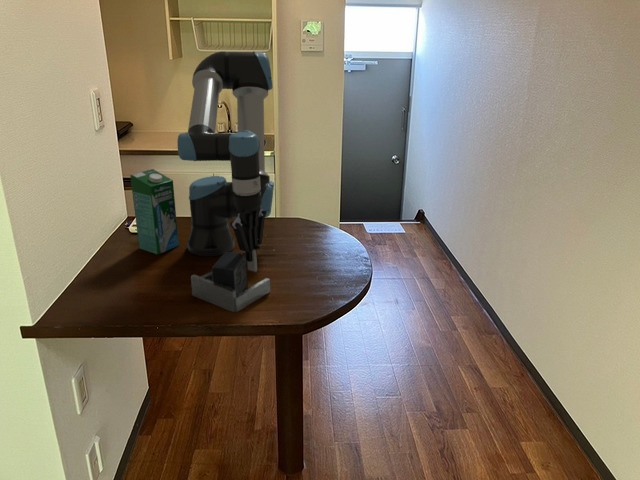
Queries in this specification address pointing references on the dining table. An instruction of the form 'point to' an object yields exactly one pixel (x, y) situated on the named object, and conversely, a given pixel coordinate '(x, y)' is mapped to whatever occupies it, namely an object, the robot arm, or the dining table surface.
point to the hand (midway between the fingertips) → (252, 270)
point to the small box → (231, 271)
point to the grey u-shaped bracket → (227, 292)
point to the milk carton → (154, 211)
